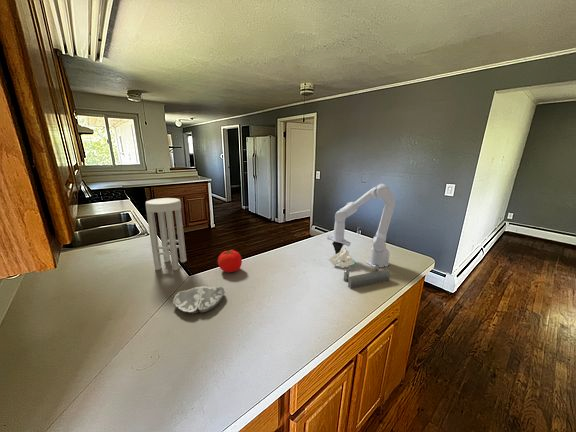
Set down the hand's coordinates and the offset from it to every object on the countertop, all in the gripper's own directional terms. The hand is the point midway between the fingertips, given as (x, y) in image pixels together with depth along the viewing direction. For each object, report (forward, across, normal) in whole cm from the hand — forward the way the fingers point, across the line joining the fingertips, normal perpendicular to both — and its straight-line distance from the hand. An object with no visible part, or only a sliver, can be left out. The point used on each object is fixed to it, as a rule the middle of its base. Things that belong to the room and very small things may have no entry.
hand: (337, 254), depth 137 cm
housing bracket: (+3, -23, +10) cm, 25 cm away
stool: (+3, +54, +74) cm, 92 cm away
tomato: (+3, +28, +53) cm, 60 cm away
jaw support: (+3, -7, +4) cm, 8 cm away
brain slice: (+3, +12, +76) cm, 77 cm away
